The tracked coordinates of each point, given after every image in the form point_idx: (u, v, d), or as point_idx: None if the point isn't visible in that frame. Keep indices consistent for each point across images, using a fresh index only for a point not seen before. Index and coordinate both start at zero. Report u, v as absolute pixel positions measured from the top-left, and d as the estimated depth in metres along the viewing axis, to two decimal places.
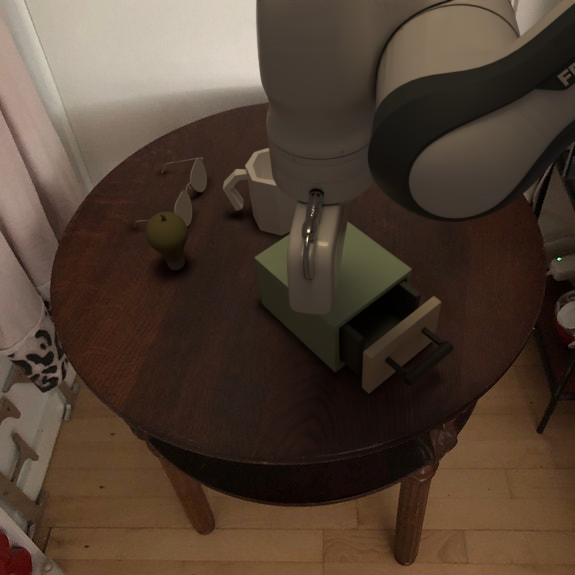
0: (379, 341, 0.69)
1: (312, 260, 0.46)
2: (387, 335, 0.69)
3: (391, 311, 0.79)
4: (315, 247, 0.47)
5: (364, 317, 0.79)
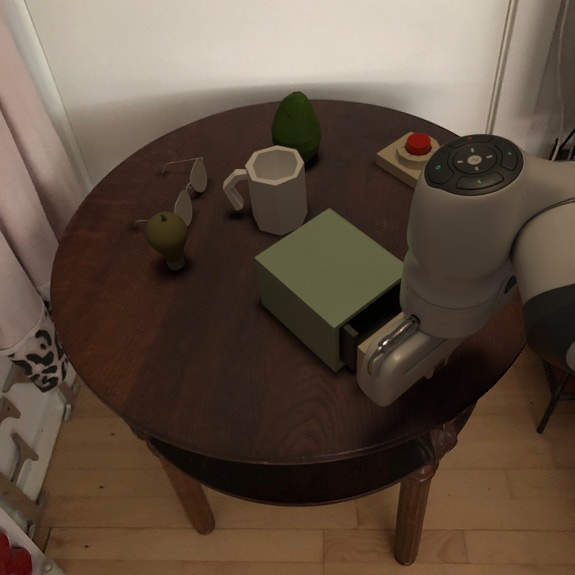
0: (373, 336, 0.69)
1: (377, 365, 0.57)
2: (381, 330, 0.70)
3: (386, 307, 0.80)
4: (386, 357, 0.57)
5: None
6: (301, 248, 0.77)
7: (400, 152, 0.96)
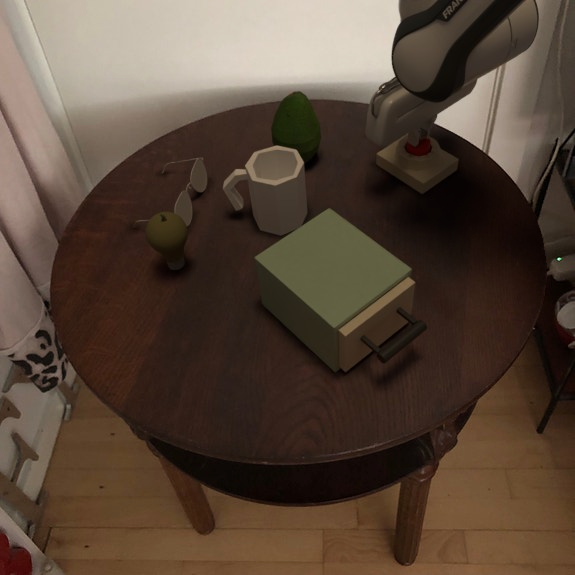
0: (354, 320, 0.71)
1: (378, 104, 0.83)
2: (362, 314, 0.71)
3: None
4: (384, 99, 0.83)
5: None
6: (301, 248, 0.77)
7: (400, 152, 0.96)
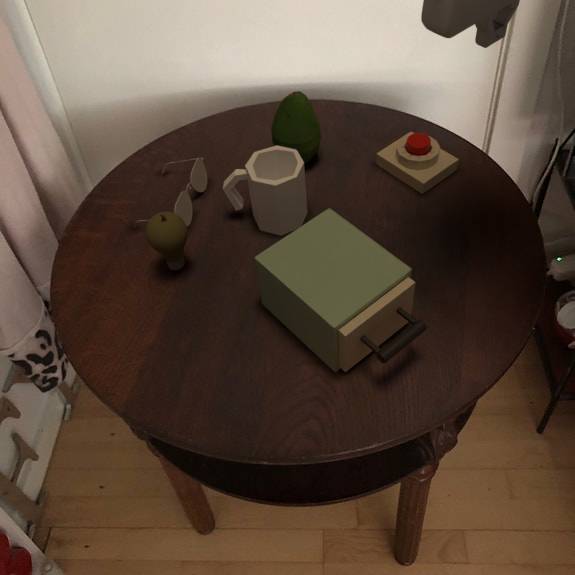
0: (354, 320, 0.71)
1: None
2: (362, 314, 0.71)
3: None
4: None
5: None
6: (301, 248, 0.77)
7: (400, 152, 0.96)
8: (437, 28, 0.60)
